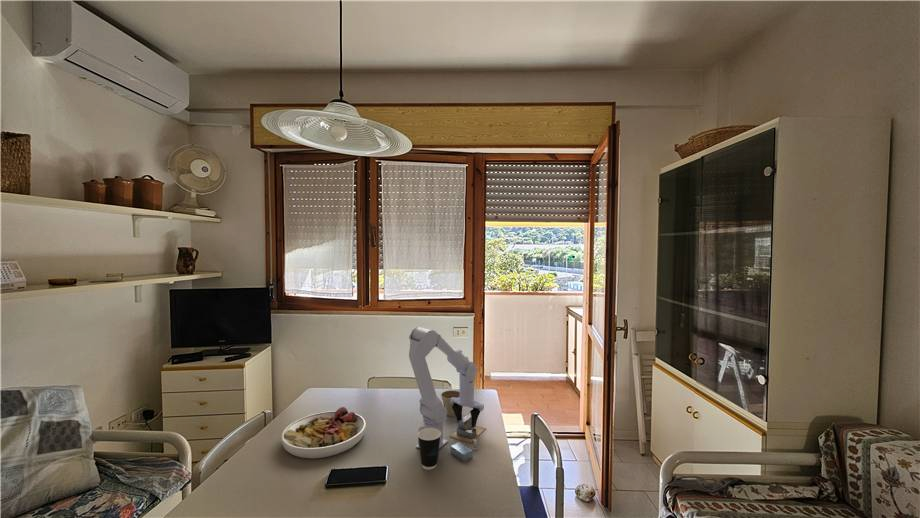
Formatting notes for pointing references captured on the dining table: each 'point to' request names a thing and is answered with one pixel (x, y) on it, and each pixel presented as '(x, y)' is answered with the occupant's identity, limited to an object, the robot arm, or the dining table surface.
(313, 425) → the bowl
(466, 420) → the uneven u-shaped block
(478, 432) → the plate
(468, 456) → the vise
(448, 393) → the flower pot
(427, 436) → the dixie cup
